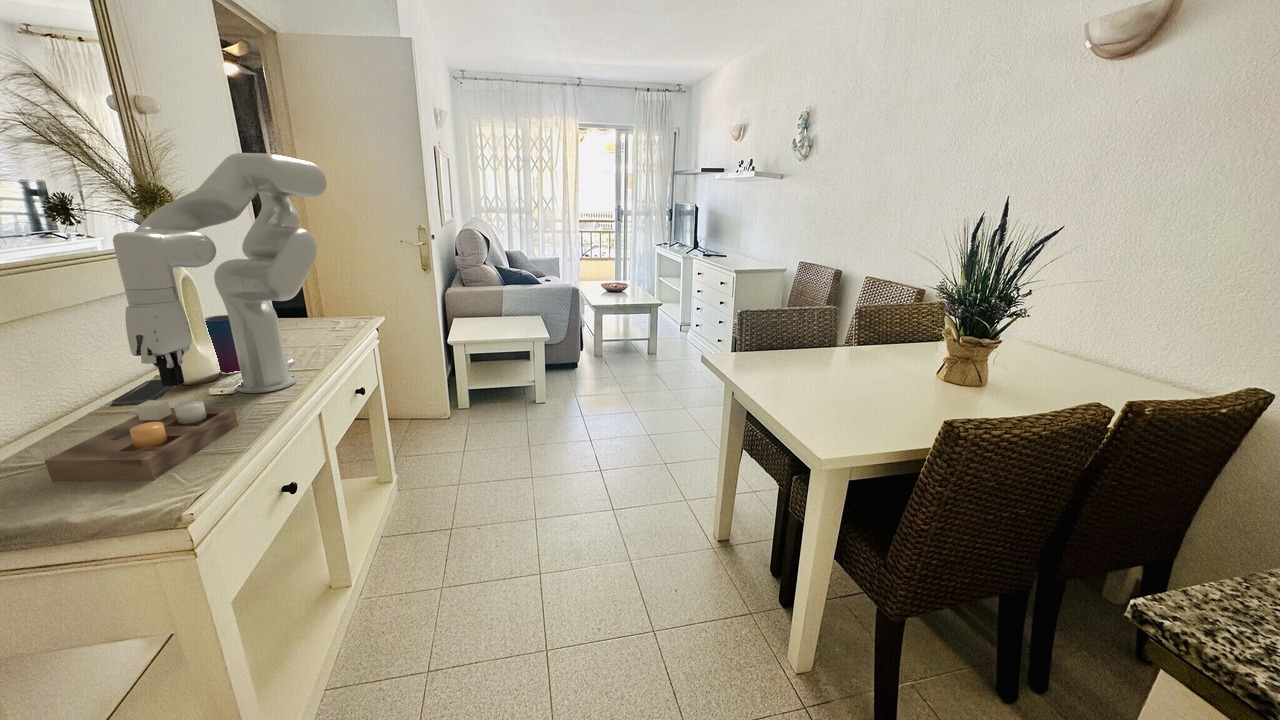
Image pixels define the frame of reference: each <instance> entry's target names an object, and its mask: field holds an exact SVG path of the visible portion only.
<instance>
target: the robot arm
mask: <svg viewBox="0 0 1280 720" xmlns="http://www.w3.org/2000/svg"><path fill="white" fill-rule="evenodd" d="M327 180H328V179H327V177H326V174H325V172H324V171H323V169H322V168H320V167H319V165H317V164H316V163H313V162H311V161H308V160H303V159H298V158H293V157H288V156H286V155H285V156H284V155H279V154H275V153H262V152H261V153H259V152H256V153H255V152H238V153H236V152H235V153H233V154H229V156H227V157H225V158H224V159H223V161H221V162H220V164H219V165H218V166H217V167H216V168H215V170H213V172H212V173H211V174H210V175H209V176H208V177H207V178H206V179H205V180H204V181H203V183H201V185H200V186H199V187H198V188H196V189H195V190H194V191H191V192H189V193H187V194H185V195H182V196H180V197H179V198H177V199H175V200H172V201H170V202H168V203H166V204H164V205H163V206H160V207H159V208H157V209H155V210H154V211H153V212H151V213H150V214H149V215H148V216H147V217H146V218H145V219H144V220H143V221H142V222H141V223H140V224H139V226H137V228H135V230H134V231H128V232H119V233H116V234H115V235H113V238H112V243H113V249H114V252H115V256H116V260H117V265H118V269H119V273H120V276H121V281H122V285H123V288H124V293H125V296H126V297H125V298H126V300H127V301H126V302H127V304H128V306H126V307H125V316H124V318H125V328H126V334H127V335H126V336H127V341H128V347H129V350H130V353H131V354H132V356H135V357H140V360H141V361H140V362H141V364H147V365H148V364H152V365H154V367H155V368H156V369H158V373H159V376H160V380H161V382H162V385H163V386H177V387H178V386H181V385H182V384H183V385H184V384H185V377H184V373H183V369H182V365H183V364H184V362H183V360H184V359H183V356H184V355H185V354H186V353H187V352H189V351H190V346H191V344H192V342H193V337H192V331H191V327H190V324H189V321H188V318H187V314H186V311H185V310H184V309H185V308H184V307H183V304H182V302H181V300H180V296H179V292H178V288H177V287H178V286H177V285H176V284H177V282H176V278H175V274H174V271H173V269H174V268H200V267H204V266H207V265H209V264H210V263H212V261H214V259H215V258H216V255H217V248H216V245H215V242H214V241H213V240H212V239H211V238H210V236H209V237H208V235H206V234H204V233H202V232H199V230H202V229H205V228H208V227H213V226H217V225H221V224H225V223H228V222H231V221H233V220H236V219H237V218H238V217H239V216H241V214H242V213H243V212H244V210H245V209H246V207H248V205H249V204H250V203H251V201H252V200H253V199H254V198H255V197H256V196H257V194H258V196H259V198H260V202H261V209H260V211H259V213H258V216H257V217H256V218H255V220H254V221H253V223H252V225H251V226H250V228H249V229H248V232H246V235H245V237H244V238H243V242H242V246H241V247H242V248H241V249H242V252H243V253H242V254H244V256H245V257H246V258H247V259H246V258H240V259H239V258H235V259H230V260H229V259H228V260H225V261H223V262H222V263H220V264H219V265H217V267H216V268H215V271H214V275H213V276H214V278H213V279H214V284H215V287H216V289H217V292H218V293H219V295H220V298H221V299H222V302H223V304H224V307H225V309H226V314H227V315H228V317H229V321H230V326H231V331H232V335H233V340H234V344H235V348H236V353H237V357H238V362H239V366H240V370H241V372H240V374H241V380H243V382H241V385H238V386H237V389H238V390H237V389H236V390H237V391H238V392H240V393H244V394H245V393H247V394H259V393H260V394H261V393H267V392H268V393H269V392H274V391H278V390H282V389H285V388H288V387H290V386H292V385H294V384H296V382H297V380H298V379H297V375H296V374H295V373H291V372H289V370H290V368H292V367H293V366H295V365H296V361H295V360H293V359H292V358H289V359H288V360H286V355H285V354H286V353H285V349H284V345H283V339H282V335H281V334H282V333H281V329H280V324H279V317H278V315H277V312H276V310H275V308H274V306H273V305H272V304H271V302H270V301H274V302H275V301H276V302H286V301H289V300H292V299H293V298H295V297H296V296H297V295H298V293H299V292H300V290H301V289H302V288H303V285H304V283H305V281H306V279H307V278H308V275H309V273H310V271H311V269H312V267H313V265H314V263H315V261H316V258H317V254H318V253H317V252H318V249H317V247H318V246H317V241H316V239H315V237H314V236H313V234H312V233H311V232H310V231H308V230H307V229H305V228H303V227H299V226H300V222H301V220H300V216H299V213H298V211H297V210H296V208H295V206H294V205H293V203H292V200H291V199H290V197H294V198H295V197H297V198H300V197H301V198H303V197H304V198H317V197H320V196H321V195H323V194H324V192H325V191H326V189H327V185H328V181H327Z"/></svg>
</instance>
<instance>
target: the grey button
mask: <svg viewBox="0 0 1280 720" xmlns="http://www.w3.org/2000/svg"><path fill="white" fill-rule="evenodd" d="M173 408H174V409H175V413H176V417H177V420H178V423H181V424H187V423H194V422H198V421H201V420H203V419H205V418H206V417H207V415H206V411H205V408H206V406H205V403H204V401H203V400H190V401H184V402H181V403H178V404H176V405H174V407H173Z"/></svg>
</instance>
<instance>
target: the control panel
mask: <svg viewBox="0 0 1280 720" xmlns="http://www.w3.org/2000/svg"><path fill="white" fill-rule="evenodd" d="M170 410H171V413H172V414H171V415H169V416H167V417H165V418H163V419H161V420H140V419H139V416H138V414H137V415H135V416H134V417H131V418H130V419H127V420H125V421H123V422H120V423H118V424H117V425H115V426H112V427H111V428H109V429H106V430H105V431H103V432H100V433H99V434H96V435H94V436H92V437H90V438H88V439H86V440H84V441H82V442H80V443H78V444H76V445H74V446H72V447H70V448H68V449H65V450H63V451H61V452H59V453H57V454H55V455H53V456H51V457H49V458H47V459H45V460H44V464H45V466H46V469H47V471H48V474H49V477H50V480H51V482H52V483H56V482H59V483H60V482H61V483H62V482H115V481H116V482H117V481H119V482H121V481H123V482H125V481H128V482H129V481H154V480H157V479H158V478H159V477H161V476H162V475H164V474H165V473H167V472H169V471H170V470H172V469H173V468H175V467H177V466H178V465H179V464H181V463H183V462H184V461H185V460H188V459H189V458H191V457H192V456H193V455H195V454H197V453H198V452H199V451H201V450H203V449H204V448H206V447H207V446H208V445H209V446H210V445H211V444H212V443H213V442H215V441H216V440H218V439H219V438H221V437H223V436H224V435H225V434H227V433H229V432H230V431H232V430H233V429H235V428H236V427H238V426H239V421H238V417H237V413H236V408H235V407H205V411H206V415H207V417H206V418H205V419H203V420H201V421H198V422H194V423H187V424H181V423H178V420H177V417H176V413H175V409H174V407H170ZM149 422H162V423H163V425H164V429H165V432H166V436H167V440H166V441H165V442H163V443H161V444H159V445H156V446H152V447H147V448H136V447H134V444H133V441H132V438H131V434H130V431H129V430H130V429H131V428H132V427H134V426H137V425H140V424H144V423H149Z"/></svg>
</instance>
